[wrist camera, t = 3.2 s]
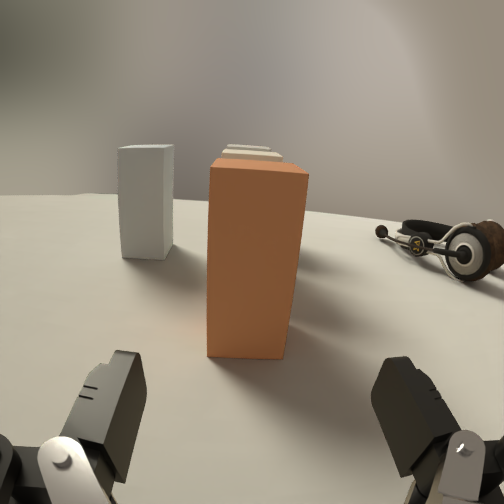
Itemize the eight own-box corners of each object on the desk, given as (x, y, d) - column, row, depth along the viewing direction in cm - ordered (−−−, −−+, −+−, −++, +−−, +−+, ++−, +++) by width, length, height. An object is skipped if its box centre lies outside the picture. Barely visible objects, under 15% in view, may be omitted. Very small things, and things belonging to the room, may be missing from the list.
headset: (488, 230, 26) (360, 205, 43) (476, 298, 28) (357, 257, 45) (517, 223, 34) (419, 204, 51) (509, 272, 36) (416, 245, 53)
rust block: (207, 356, 20) (210, 167, 15) (212, 315, 24) (217, 158, 20) (282, 359, 20) (308, 173, 16) (275, 317, 25) (293, 163, 20)
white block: (122, 257, 33) (117, 148, 28) (135, 241, 38) (133, 145, 33) (164, 260, 33) (163, 147, 29) (173, 243, 38) (174, 144, 33)
